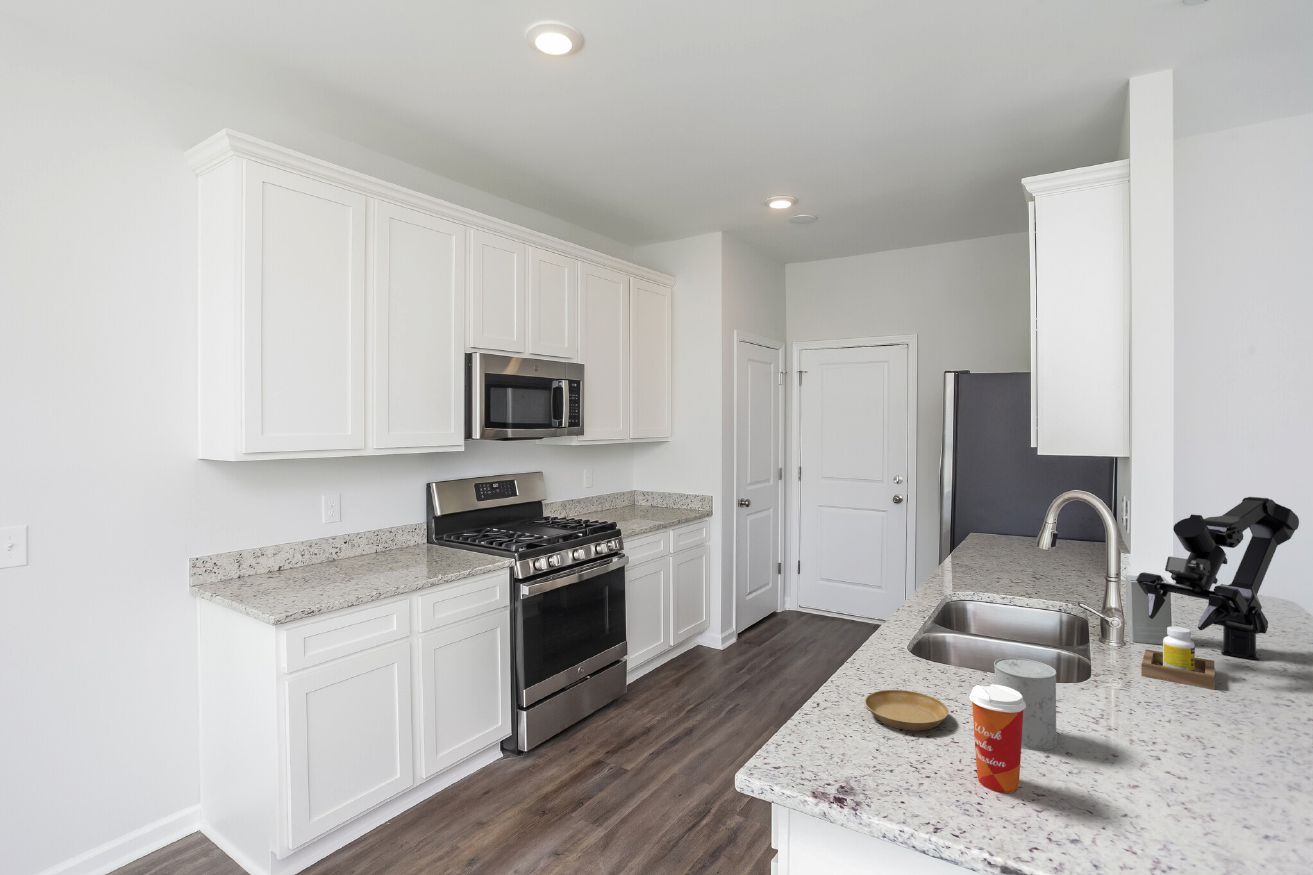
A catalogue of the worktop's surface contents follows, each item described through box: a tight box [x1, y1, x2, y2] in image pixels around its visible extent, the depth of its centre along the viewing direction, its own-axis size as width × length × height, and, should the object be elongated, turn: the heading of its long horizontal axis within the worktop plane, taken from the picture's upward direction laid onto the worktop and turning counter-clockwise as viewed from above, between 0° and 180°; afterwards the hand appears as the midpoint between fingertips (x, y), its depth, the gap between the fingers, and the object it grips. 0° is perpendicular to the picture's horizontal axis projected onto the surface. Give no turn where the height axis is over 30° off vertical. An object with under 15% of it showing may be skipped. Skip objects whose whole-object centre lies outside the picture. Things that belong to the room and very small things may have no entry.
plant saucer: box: [864, 689, 950, 732], centre depth 124 cm, size 15×15×3 cm
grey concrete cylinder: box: [993, 657, 1058, 751], centre depth 115 cm, size 10×10×12 cm
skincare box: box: [1125, 574, 1173, 645], centre depth 163 cm, size 8×7×16 cm
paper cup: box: [969, 683, 1026, 794], centre depth 101 cm, size 8×8×14 cm
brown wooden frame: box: [1140, 648, 1216, 691], centre depth 142 cm, size 12×12×2 cm
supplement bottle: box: [1162, 626, 1196, 672], centre depth 142 cm, size 5×5×10 cm
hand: (1174, 623), depth 141 cm, fingers open, 9 cm apart
